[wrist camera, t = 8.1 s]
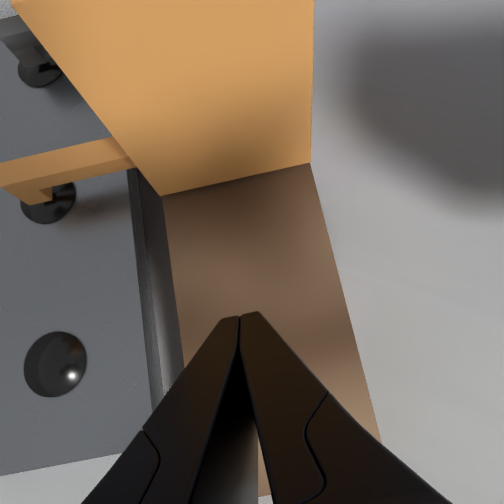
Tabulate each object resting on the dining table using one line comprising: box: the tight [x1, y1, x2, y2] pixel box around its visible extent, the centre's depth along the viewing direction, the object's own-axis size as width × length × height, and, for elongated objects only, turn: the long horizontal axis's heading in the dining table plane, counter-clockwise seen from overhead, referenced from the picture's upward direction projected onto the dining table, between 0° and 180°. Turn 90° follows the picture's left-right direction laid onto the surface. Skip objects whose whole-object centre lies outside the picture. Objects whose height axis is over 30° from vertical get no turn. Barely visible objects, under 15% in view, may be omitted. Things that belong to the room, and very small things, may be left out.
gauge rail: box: [0, 15, 382, 497], centre depth 13 cm, size 21×12×12 cm, turn 11°
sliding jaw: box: [0, 0, 314, 205], centre depth 13 cm, size 3×12×9 cm, turn 101°
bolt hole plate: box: [0, 40, 164, 476], centre depth 19 cm, size 20×7×2 cm, turn 11°
